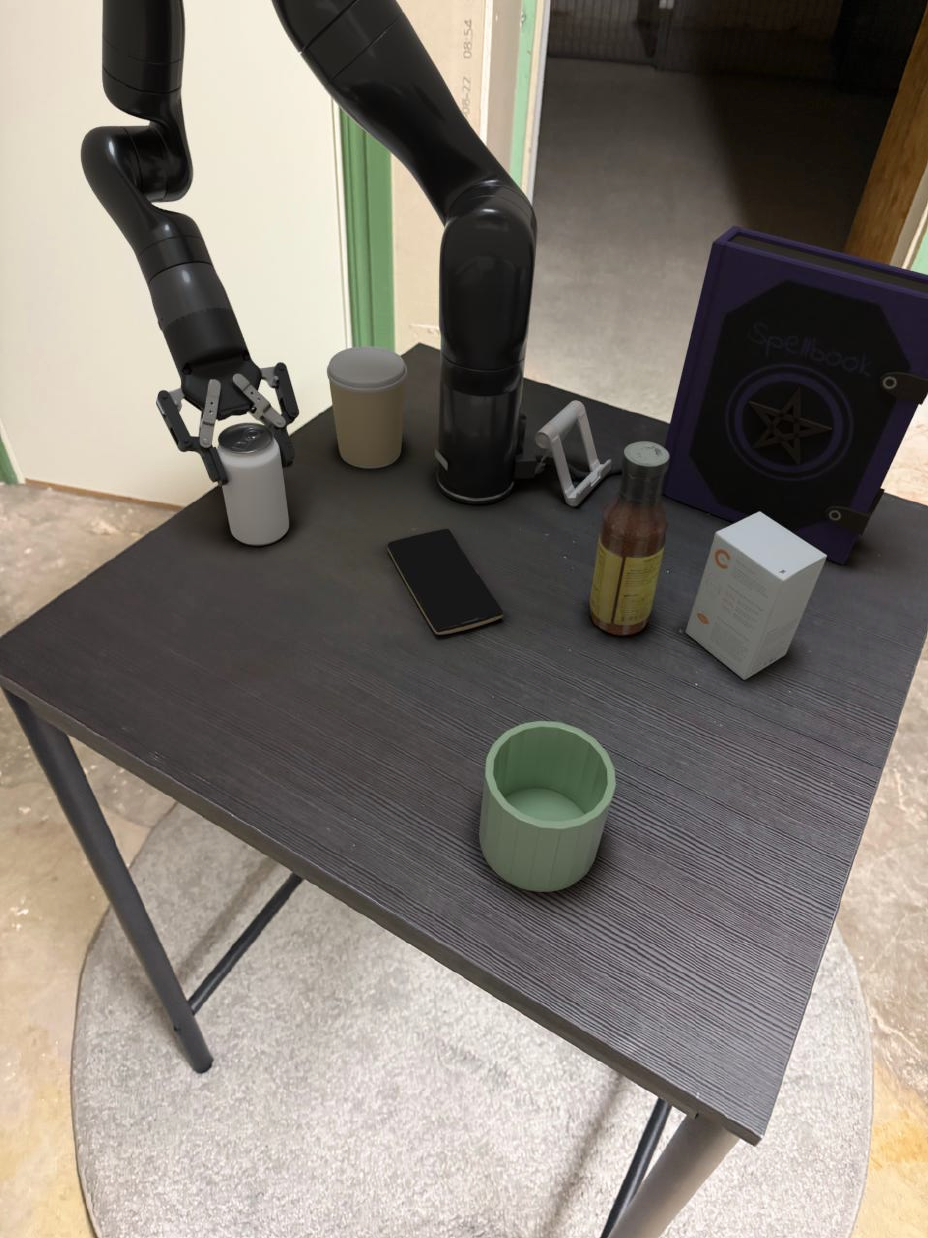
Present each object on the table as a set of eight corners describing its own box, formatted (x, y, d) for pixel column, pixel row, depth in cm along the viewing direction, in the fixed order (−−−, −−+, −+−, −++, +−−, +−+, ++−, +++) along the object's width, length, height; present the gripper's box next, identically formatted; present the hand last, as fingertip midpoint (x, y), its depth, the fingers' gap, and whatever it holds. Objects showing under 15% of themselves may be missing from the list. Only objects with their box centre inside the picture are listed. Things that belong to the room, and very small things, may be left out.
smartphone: (448, 526, 97) (505, 613, 87) (447, 534, 98) (504, 621, 88) (385, 541, 94) (437, 632, 85) (385, 549, 95) (437, 640, 86)
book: (652, 494, 105) (711, 241, 84) (673, 470, 109) (734, 223, 88) (845, 569, 96) (965, 309, 75) (861, 540, 100) (979, 285, 79)
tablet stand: (577, 509, 102) (587, 448, 96) (520, 486, 105) (526, 425, 99) (610, 475, 108) (621, 415, 102) (554, 453, 110) (562, 395, 105)
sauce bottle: (655, 608, 90) (698, 445, 77) (637, 647, 86) (680, 482, 72) (595, 589, 92) (627, 426, 78) (575, 625, 88) (605, 461, 74)
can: (299, 519, 99) (289, 427, 90) (272, 553, 94) (258, 460, 86) (249, 506, 100) (233, 414, 92) (220, 539, 96) (201, 446, 87)
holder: (551, 770, 75) (563, 703, 69) (621, 856, 69) (642, 791, 63) (456, 819, 71) (461, 752, 65) (523, 914, 65) (535, 850, 59)
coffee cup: (412, 434, 112) (412, 347, 104) (401, 475, 106) (400, 386, 97) (341, 428, 113) (335, 341, 104) (325, 468, 106) (318, 379, 98)
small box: (786, 655, 86) (830, 555, 77) (743, 682, 83) (784, 581, 74) (725, 608, 91) (760, 508, 82) (682, 632, 88) (713, 531, 79)
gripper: (129, 321, 83) (194, 486, 84) (271, 292, 89) (329, 447, 90) (126, 349, 90) (185, 502, 91) (257, 321, 95) (311, 464, 97)
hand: (256, 474), depth 90 cm, fingers closed on can, 6 cm apart
